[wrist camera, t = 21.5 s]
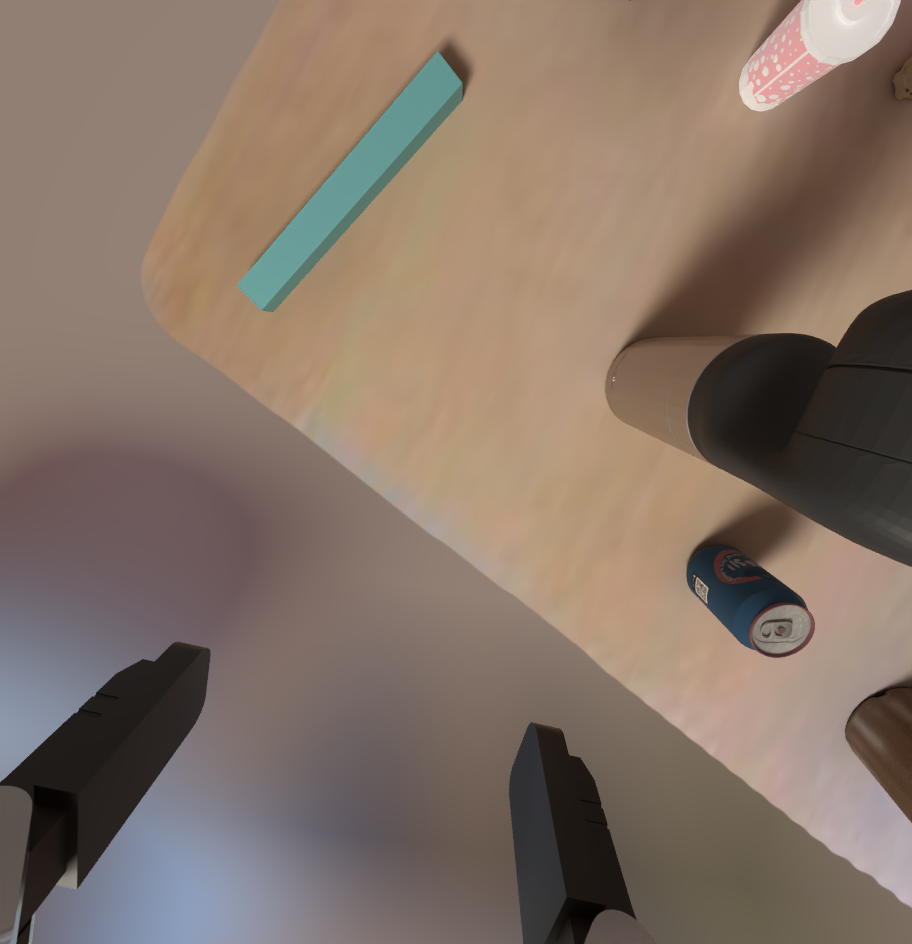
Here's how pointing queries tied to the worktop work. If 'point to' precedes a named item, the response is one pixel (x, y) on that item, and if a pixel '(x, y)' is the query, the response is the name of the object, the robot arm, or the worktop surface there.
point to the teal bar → (355, 183)
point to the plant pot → (886, 742)
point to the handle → (904, 81)
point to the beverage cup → (812, 47)
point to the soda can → (750, 601)
